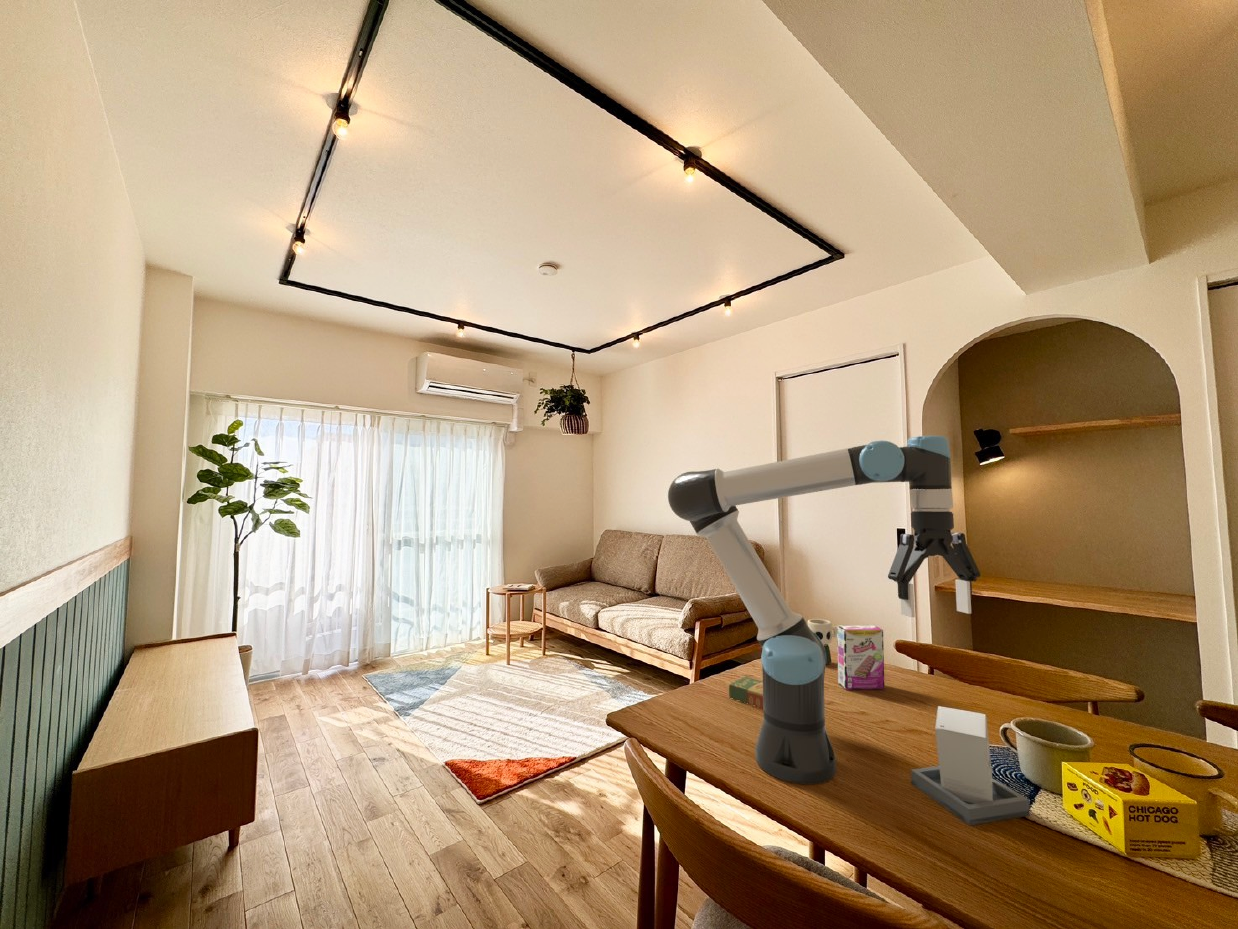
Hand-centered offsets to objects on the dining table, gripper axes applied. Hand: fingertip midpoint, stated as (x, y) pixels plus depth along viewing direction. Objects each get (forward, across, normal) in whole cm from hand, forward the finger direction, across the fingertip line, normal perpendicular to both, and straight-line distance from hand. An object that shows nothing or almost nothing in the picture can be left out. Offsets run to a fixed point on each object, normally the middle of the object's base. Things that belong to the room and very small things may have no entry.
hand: (936, 614), depth 102 cm
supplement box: (+27, +7, +12) cm, 30 cm away
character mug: (+29, -11, -58) cm, 65 cm away
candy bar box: (+29, -10, -37) cm, 48 cm away
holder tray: (+29, +7, +12) cm, 32 cm away
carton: (+29, +22, -34) cm, 49 cm away
